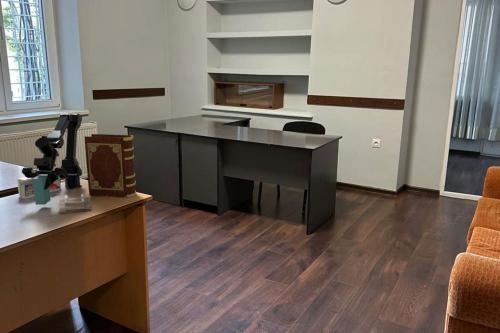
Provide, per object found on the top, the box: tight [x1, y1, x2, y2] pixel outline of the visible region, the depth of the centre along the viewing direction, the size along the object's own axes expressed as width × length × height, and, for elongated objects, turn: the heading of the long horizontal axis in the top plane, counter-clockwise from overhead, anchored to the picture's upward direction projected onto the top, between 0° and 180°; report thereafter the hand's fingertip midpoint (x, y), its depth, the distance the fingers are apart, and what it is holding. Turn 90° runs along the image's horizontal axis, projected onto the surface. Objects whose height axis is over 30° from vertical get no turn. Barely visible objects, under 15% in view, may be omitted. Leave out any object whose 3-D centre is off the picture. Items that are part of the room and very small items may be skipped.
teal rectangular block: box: [33, 175, 51, 206], centre depth 187 cm, size 6×4×12 cm, turn 0°
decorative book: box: [84, 133, 137, 198], centre depth 206 cm, size 22×8×30 cm, turn 84°
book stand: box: [58, 193, 92, 215], centre depth 191 cm, size 18×13×4 cm
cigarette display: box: [16, 176, 62, 199], centre depth 210 cm, size 20×6×9 cm, turn 147°
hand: (40, 189), depth 186 cm, fingers closed on teal rectangular block, 4 cm apart
